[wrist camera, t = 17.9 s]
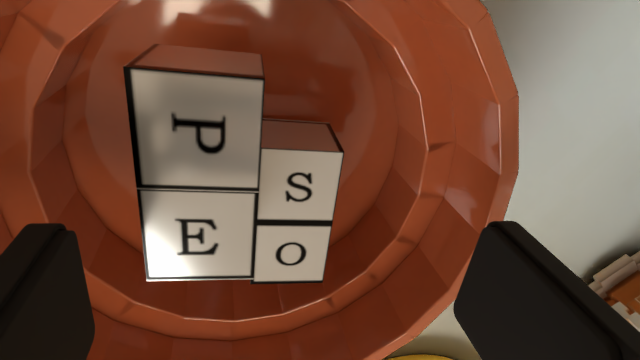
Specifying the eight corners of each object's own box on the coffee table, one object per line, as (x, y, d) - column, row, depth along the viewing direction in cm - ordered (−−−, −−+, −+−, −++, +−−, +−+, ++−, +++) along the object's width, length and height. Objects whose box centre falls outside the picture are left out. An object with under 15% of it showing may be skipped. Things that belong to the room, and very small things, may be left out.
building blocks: (172, 29, 12) (183, 238, 16) (122, 66, 7) (154, 352, 11) (339, 47, 13) (312, 239, 17) (389, 89, 8) (336, 343, 12)
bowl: (288, -226, 10) (346, -395, 5) (479, 168, 18) (572, 240, 13) (-108, 117, 12) (-326, 216, 7) (224, 341, 20) (225, 459, 15)
